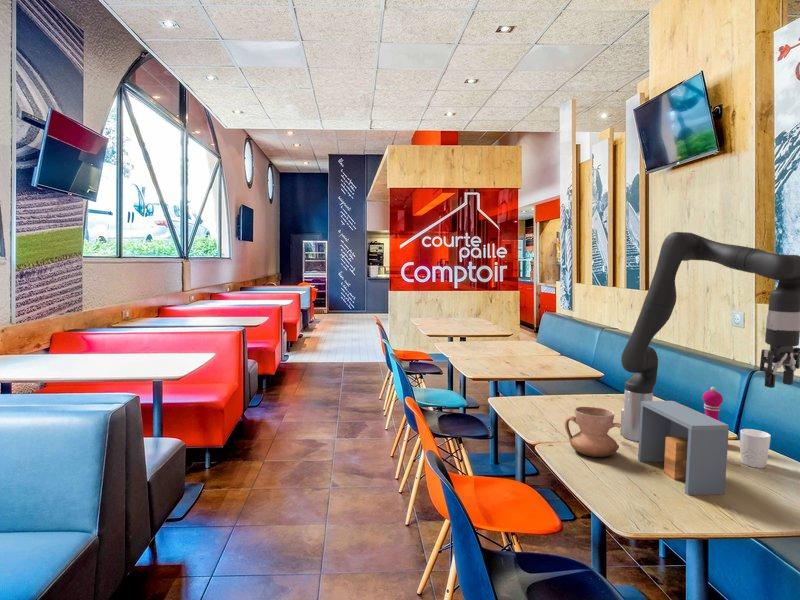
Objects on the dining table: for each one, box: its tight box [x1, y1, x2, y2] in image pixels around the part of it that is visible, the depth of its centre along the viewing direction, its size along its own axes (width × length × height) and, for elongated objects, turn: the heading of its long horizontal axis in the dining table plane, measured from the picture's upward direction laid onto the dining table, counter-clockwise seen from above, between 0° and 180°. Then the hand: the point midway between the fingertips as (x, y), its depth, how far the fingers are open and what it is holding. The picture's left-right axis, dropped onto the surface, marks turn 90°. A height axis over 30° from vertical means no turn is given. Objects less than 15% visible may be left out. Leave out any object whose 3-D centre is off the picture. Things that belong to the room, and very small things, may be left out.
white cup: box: [739, 428, 772, 469], centre depth 161 cm, size 8×8×10 cm
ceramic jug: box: [563, 406, 622, 458], centre depth 169 cm, size 18×14×14 cm
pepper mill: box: [702, 386, 724, 421], centre depth 179 cm, size 7×7×20 cm
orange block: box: [663, 437, 688, 481], centre depth 151 cm, size 5×5×11 cm
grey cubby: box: [637, 400, 730, 496], centre depth 151 cm, size 11×24×19 cm, turn 5°
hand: (778, 385), depth 142 cm, fingers open, 8 cm apart
